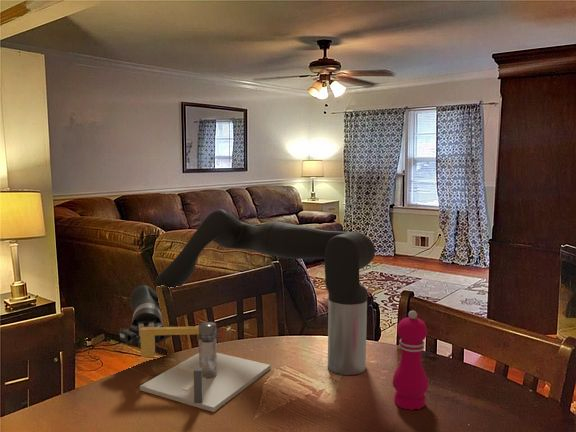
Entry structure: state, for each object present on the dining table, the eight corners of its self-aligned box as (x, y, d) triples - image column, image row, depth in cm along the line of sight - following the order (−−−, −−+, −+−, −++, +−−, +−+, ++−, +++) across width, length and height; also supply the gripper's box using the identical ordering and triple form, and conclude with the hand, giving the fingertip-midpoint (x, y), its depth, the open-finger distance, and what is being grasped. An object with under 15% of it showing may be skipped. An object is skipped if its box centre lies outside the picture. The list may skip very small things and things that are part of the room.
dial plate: (204, 353, 129) (203, 323, 128) (270, 368, 120) (270, 337, 119) (138, 390, 108) (137, 356, 108) (212, 413, 99) (211, 375, 98)
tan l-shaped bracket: (217, 350, 116) (216, 321, 115) (216, 357, 112) (215, 327, 111) (143, 352, 114) (142, 323, 114) (140, 359, 110) (139, 329, 110)
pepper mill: (428, 413, 99) (432, 317, 97) (392, 409, 101) (394, 315, 98) (426, 396, 106) (429, 306, 104) (391, 393, 108) (394, 304, 105)
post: (206, 369, 117) (206, 335, 116) (220, 373, 115) (219, 338, 114) (196, 376, 113) (195, 341, 112) (210, 380, 112) (209, 344, 110)
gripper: (120, 308, 128) (114, 333, 111) (172, 305, 131) (174, 328, 114) (120, 336, 129) (115, 364, 112) (173, 332, 132) (175, 359, 115)
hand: (145, 346), depth 113 cm, fingers closed
